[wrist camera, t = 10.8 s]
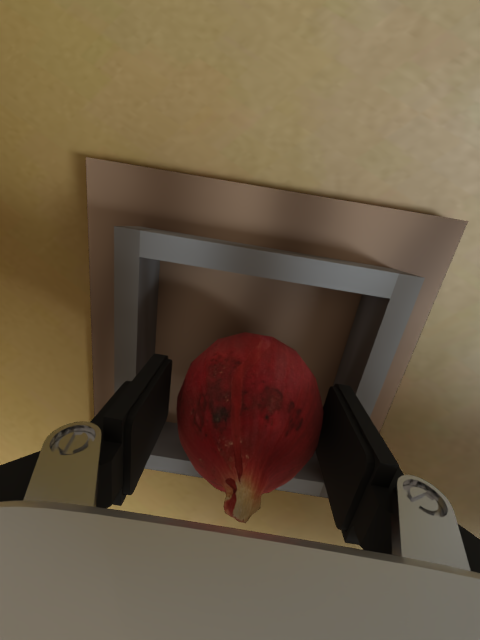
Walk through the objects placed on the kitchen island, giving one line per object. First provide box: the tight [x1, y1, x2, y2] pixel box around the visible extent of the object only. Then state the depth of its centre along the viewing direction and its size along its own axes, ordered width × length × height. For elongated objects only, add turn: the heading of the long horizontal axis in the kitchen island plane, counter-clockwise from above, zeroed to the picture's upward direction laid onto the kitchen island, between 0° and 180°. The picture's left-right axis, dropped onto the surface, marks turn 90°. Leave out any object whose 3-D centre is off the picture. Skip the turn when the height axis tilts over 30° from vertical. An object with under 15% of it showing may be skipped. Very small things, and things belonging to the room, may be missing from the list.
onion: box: [176, 332, 324, 523], centre depth 11 cm, size 6×6×8 cm
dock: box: [86, 157, 468, 498], centre depth 14 cm, size 17×17×4 cm
